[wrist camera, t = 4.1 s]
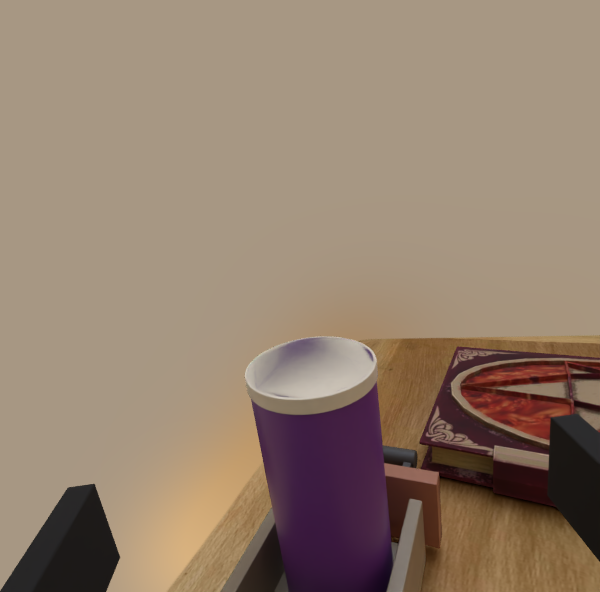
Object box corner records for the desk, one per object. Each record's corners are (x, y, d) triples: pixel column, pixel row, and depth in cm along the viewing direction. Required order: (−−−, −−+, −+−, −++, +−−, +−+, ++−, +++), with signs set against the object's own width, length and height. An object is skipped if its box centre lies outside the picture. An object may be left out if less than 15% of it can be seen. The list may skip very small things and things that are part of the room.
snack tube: (314, 664, 22) (268, 417, 18) (272, 562, 28) (230, 358, 24) (420, 604, 25) (404, 370, 20) (361, 521, 31) (338, 326, 26)
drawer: (323, 467, 38) (316, 416, 36) (448, 491, 34) (446, 433, 32) (182, 738, 21) (157, 664, 20) (395, 855, 17) (385, 772, 15)
